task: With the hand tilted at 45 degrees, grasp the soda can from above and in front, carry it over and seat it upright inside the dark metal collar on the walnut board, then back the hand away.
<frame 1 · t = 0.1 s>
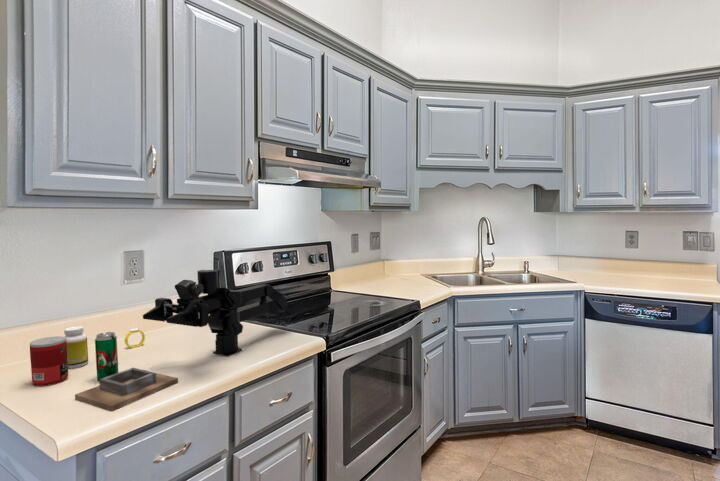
hand: (154, 318, 115), 17 cm above the worktop, tool horizontal, fingers open, 9 cm apart
pill bottle: (76, 365, 128), on the worktop
canned food: (50, 381, 117), on the worktop
soda can: (108, 378, 118), on the worktop
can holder: (128, 390, 110), on the worktop
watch: (135, 347, 145), on the worktop
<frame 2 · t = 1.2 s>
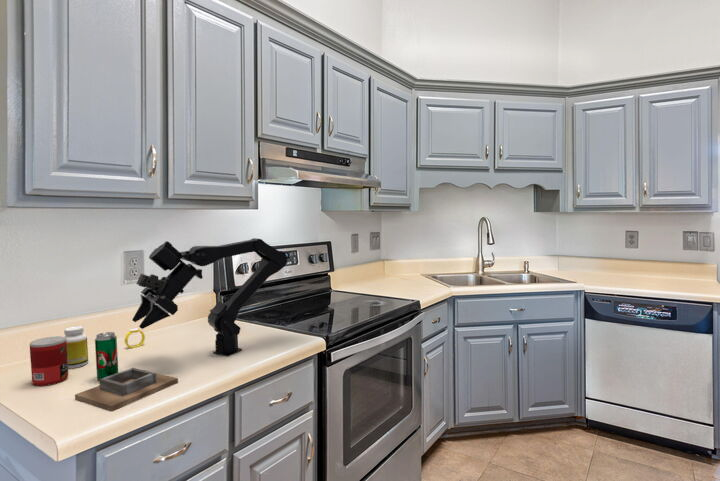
hand: (136, 324, 122), 13 cm above the worktop, tool tilted 45°, fingers open, 9 cm apart
nothing on the worktop moved.
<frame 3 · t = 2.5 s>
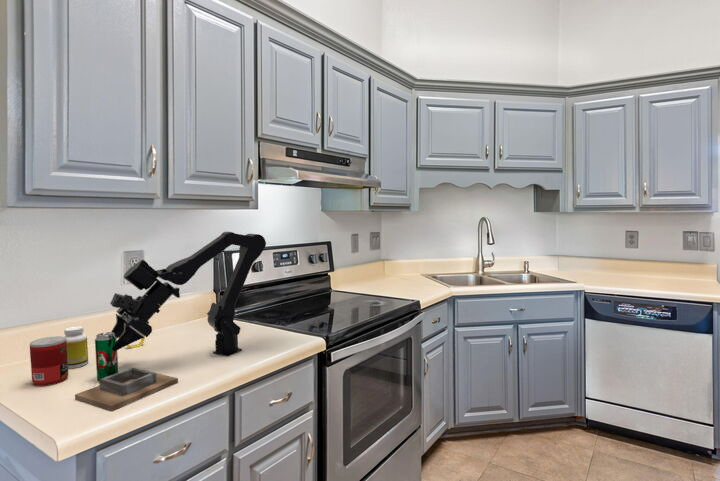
hand: (110, 345, 118), 9 cm above the worktop, tool tilted 45°, fingers open, 9 cm apart
nothing on the worktop moved.
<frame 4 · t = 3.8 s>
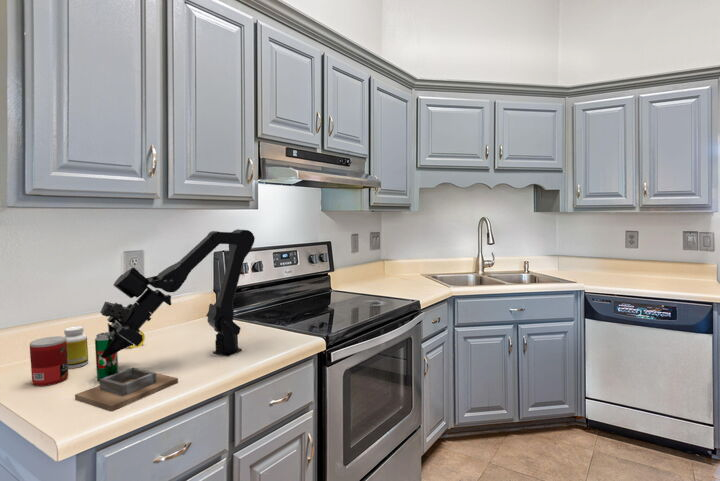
hand: (100, 355, 117), 7 cm above the worktop, tool tilted 45°, fingers closed on soda can, 5 cm apart
soda can: (108, 378, 118), on the worktop, touching gripper
everything else where it was.
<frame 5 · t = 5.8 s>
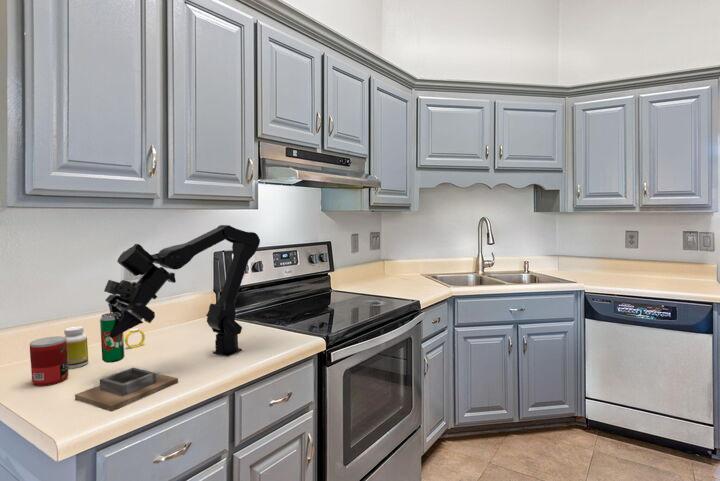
hand: (106, 335, 112), 13 cm above the worktop, tool tilted 45°, fingers closed on soda can, 5 cm apart
soda can: (113, 360, 113), point 6 cm above the worktop, touching gripper
everything else where it was.
when the fingers open (9 cm above the worktop, at t = 7.7 s): soda can stays where it is, resting on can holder.
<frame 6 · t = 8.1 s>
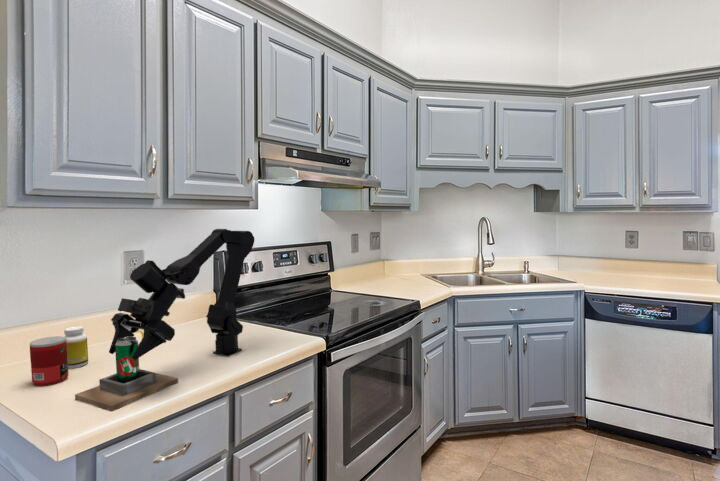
hand: (121, 356, 108), 9 cm above the worktop, tool tilted 45°, fingers open, 9 cm apart
soda can: (128, 386, 110), point 1 cm above the worktop, touching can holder
everything else where it was.
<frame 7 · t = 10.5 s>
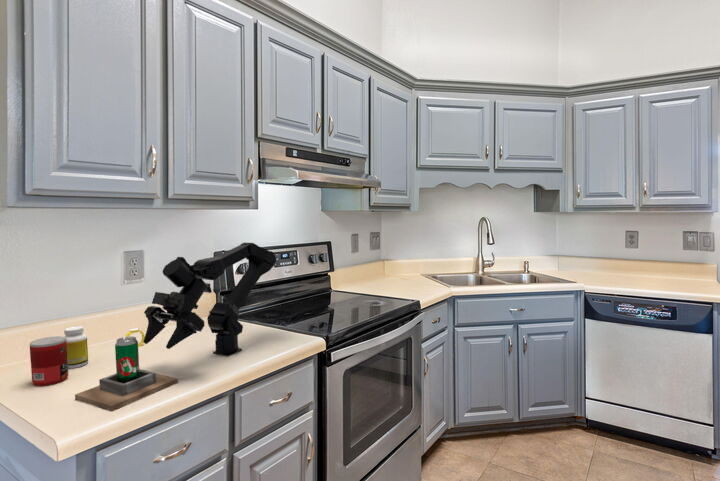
hand: (155, 345, 116), 9 cm above the worktop, tool tilted 45°, fingers open, 9 cm apart
nothing on the worktop moved.
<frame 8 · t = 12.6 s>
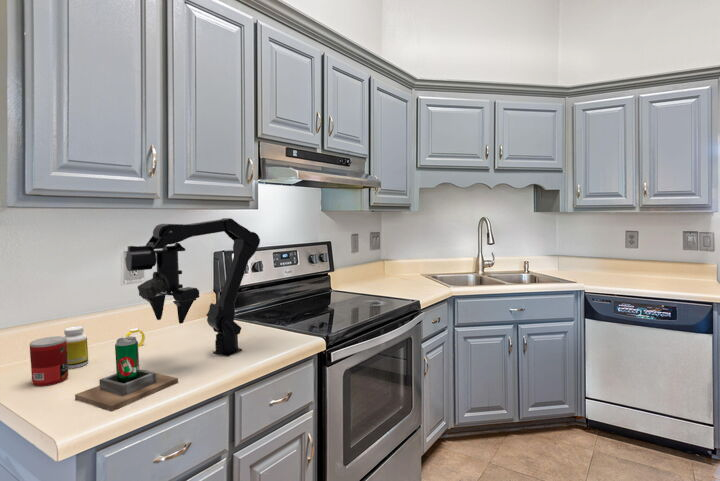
hand: (169, 321, 126), 13 cm above the worktop, tool pointing down, fingers open, 9 cm apart
nothing on the worktop moved.
at the end: soda can 0.0 cm off-centre on the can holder, point 1.0 cm above the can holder's base; soda can tilted 0°; the gripper is holding nothing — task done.
